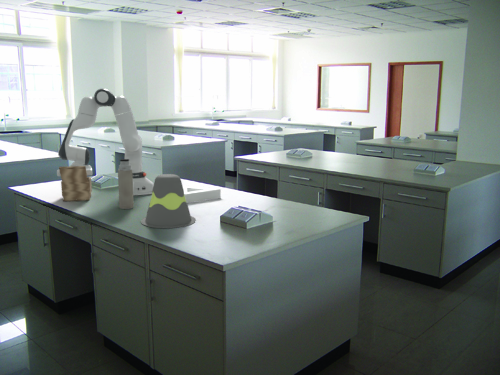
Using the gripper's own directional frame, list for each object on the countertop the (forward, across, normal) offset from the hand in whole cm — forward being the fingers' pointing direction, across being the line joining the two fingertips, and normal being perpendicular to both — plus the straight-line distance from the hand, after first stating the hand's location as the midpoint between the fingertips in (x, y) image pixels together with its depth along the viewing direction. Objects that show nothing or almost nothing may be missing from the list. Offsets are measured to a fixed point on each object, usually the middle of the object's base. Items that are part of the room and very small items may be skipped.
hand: (73, 174), depth 263 cm
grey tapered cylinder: (+53, +52, +15) cm, 76 cm away
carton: (-10, 0, +17) cm, 20 cm away
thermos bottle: (+20, +30, +16) cm, 40 cm away
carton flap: (+1, 0, -1) cm, 1 cm away
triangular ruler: (0, +69, +17) cm, 71 cm away
